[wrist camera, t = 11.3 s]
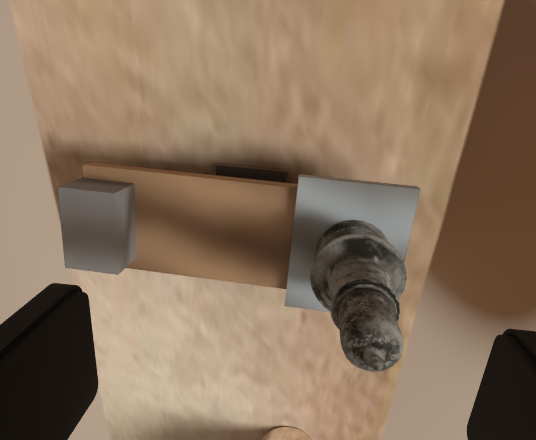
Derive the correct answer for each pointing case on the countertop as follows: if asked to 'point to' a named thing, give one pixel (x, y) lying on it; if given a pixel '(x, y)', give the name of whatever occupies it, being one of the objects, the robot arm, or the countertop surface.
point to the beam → (220, 223)
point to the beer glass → (286, 434)
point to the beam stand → (252, 172)
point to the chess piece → (361, 291)
